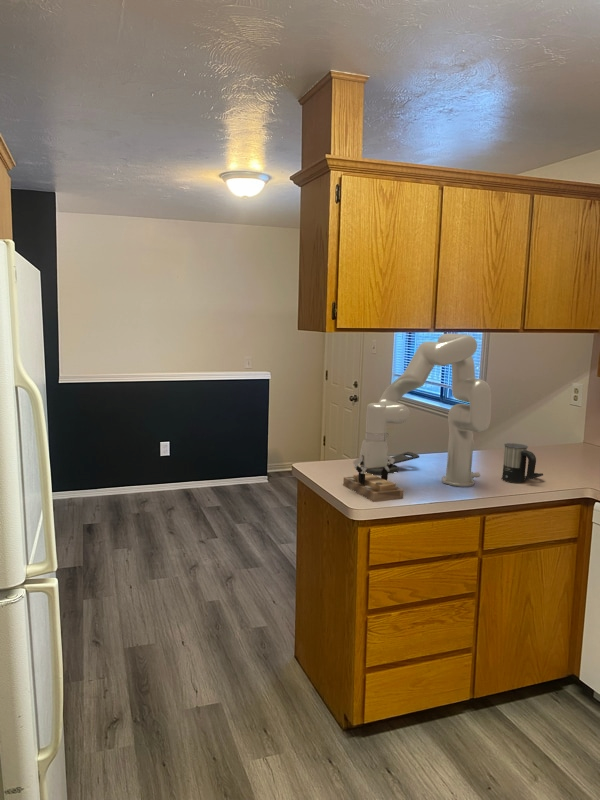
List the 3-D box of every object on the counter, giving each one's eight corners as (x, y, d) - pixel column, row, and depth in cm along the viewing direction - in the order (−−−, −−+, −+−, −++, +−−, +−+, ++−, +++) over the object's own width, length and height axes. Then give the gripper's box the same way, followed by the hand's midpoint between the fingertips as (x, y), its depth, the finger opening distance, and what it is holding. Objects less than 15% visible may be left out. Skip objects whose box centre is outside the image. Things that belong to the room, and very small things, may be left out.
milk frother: (497, 480, 247) (500, 444, 245) (511, 473, 259) (515, 439, 257) (532, 487, 238) (535, 450, 236) (545, 480, 250) (549, 445, 248)
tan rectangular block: (352, 485, 227) (353, 474, 227) (367, 483, 231) (368, 472, 230) (379, 496, 214) (380, 485, 213) (395, 494, 217) (395, 483, 217)
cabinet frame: (343, 485, 230) (343, 475, 229) (371, 482, 235) (371, 472, 235) (373, 501, 211) (374, 491, 210) (403, 498, 216) (403, 488, 215)
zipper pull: (421, 455, 257) (375, 460, 244) (420, 470, 257) (374, 476, 245) (408, 450, 264) (362, 455, 251) (407, 465, 265) (361, 471, 252)
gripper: (389, 433, 227) (386, 477, 229) (349, 436, 220) (347, 481, 222) (401, 437, 220) (398, 483, 223) (360, 440, 213) (357, 487, 215)
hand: (372, 482), depth 222 cm, fingers open, 9 cm apart
